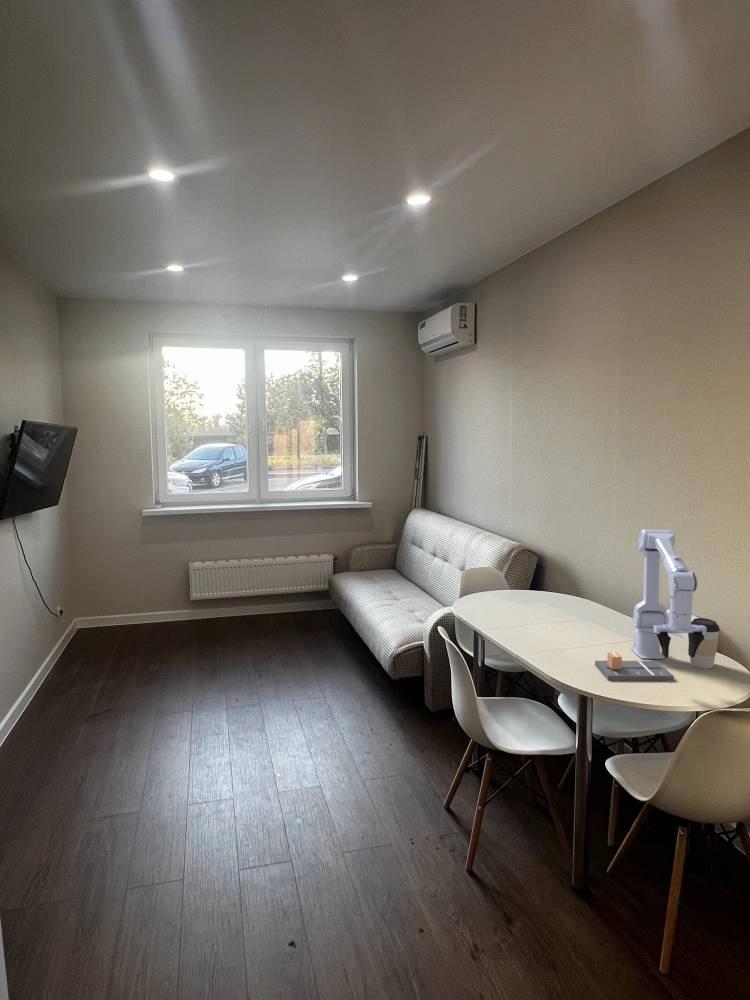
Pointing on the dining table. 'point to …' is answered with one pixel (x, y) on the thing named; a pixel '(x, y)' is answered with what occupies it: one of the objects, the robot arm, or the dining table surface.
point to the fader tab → (614, 660)
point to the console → (636, 671)
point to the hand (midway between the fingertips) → (678, 656)
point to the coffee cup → (706, 644)
